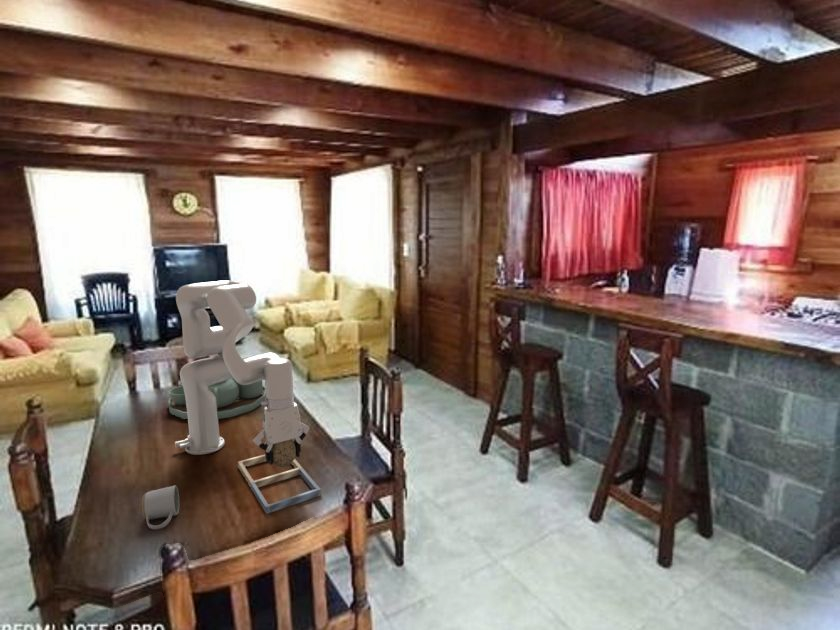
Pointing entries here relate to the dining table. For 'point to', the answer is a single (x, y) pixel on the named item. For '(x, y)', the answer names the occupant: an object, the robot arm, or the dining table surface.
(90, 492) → the dining table surface
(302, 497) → the frame
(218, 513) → the dining table surface
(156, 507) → the ceramic mug
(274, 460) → the decorative egg
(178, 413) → the tea set
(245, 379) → the robot arm
